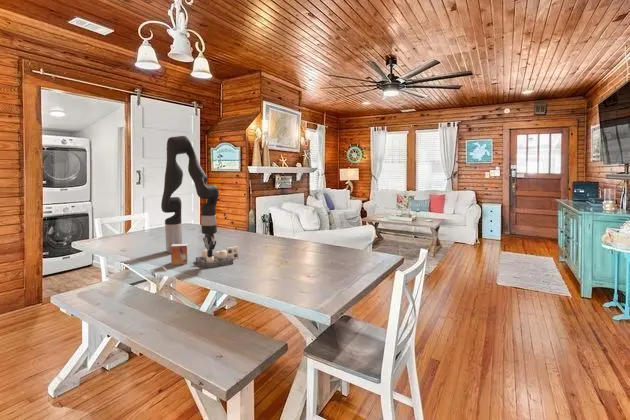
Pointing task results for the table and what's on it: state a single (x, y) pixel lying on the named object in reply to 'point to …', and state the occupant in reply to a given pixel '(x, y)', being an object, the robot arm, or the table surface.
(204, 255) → the button
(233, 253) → the card
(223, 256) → the button
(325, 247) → the table surface
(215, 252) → the button
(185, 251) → the small box
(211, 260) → the button
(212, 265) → the board
